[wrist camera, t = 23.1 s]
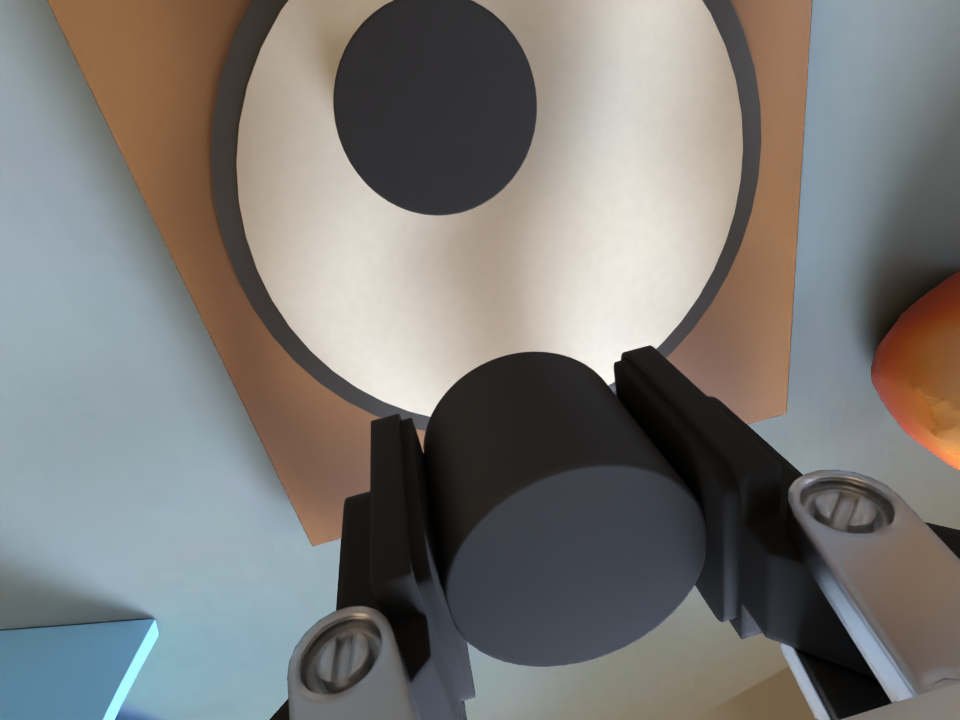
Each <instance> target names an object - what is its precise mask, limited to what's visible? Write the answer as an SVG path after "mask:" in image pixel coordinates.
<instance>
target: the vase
mask: <svg viewBox="0 0 960 720" xmlns="http://www.w3.org/2000/svg"><path fill="white" fill-rule="evenodd" d="M158 635H159V632H158V628H157V624H156V620H155V619H146V620H133V621H120V622H107V623H95V624H82V625H69V626H56V627H43V628H30V629H17V630H5V631H0V720H115V717H116V715H117V713H118V711H119V709H120V707H121V705H122V703H123V701H124V699H125V697H126V695H127V693H128V691H129V689H130V688H131V686H132V684H133V682H134V680H135V678H136V676H137V674H138V672H139V670H140V669H141V667H142V665H143V663H144V661H145V659H146V658H147V656H148V654H149V652H150V650H151V648H152V646H153V645H154V643H155V641H156V639H157V637H158Z"/></svg>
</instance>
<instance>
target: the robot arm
mask: <svg viewBox="0 0 960 720" xmlns="http://www.w3.org/2000/svg"><path fill="white" fill-rule="evenodd" d="M614 377H615V386H616V396H617V398H618V399H619V400H620V401H621V403H622V404H623V405H624V406H625V408H626V409H627V410H628V411H629V413H630V414H631V415H632V416H633V418H634V419H635V420H636V422H637V423H638V424H639V425H640V427H641V428H642V429H643V430H644V432H645V433H646V434H647V435H648V437H649V438H650V439H651V440H652V442H653V443H654V444H655V445H656V447H657V448H658V449H659V451H660V452H661V453H662V454H663V456H664V457H665V458H666V459H667V461H668V462H669V463H670V464H671V466H672V467H673V468H674V469H675V471H676V472H677V473H678V474H679V476H680V477H681V478H682V480H683V481H684V482H685V483H686V485H687V486H688V487H689V488H690V490H691V491H692V492H693V493H694V495H695V496H696V497H697V499H698V501H699V503H700V505H701V507H702V509H703V512H704V516H705V520H706V558H705V562H704V565H703V568H702V570H701V573H700V575H699V577H698V579H697V581H696V583H695V586H696V587H697V589H698V590H699V592H700V593H701V595H702V597H703V598H704V600H705V601H706V603H707V604H708V606H709V607H710V609H711V610H712V612H713V614H714V615H715V616H716V618H717V619H718V620H719V621H721V622H724V621H728V620H729V621H730V623H731V624H732V626H733V627H734V629H735V630H736V632H737V633H738V635H739V636H740V638H741V639H744V638H747V637H751V636H754V635H757V634H760V633H763V634H764V635H765V637H767V638H769V639H772V640H775V641H777V642H779V643H780V646H781V649H782V652H783V654H784V656H785V658H786V660H787V662H788V664H789V666H790V668H791V670H792V672H793V674H794V676H795V679H796V681H797V683H798V685H799V687H800V689H801V691H802V693H803V695H804V696H805V699H806V701H807V703H808V705H809V707H810V709H811V711H812V713H813V715H814V717H815V719H816V720H960V530H956V529H952V528H948V527H943V526H939V525H935V524H930V523H926V522H924V521H923V520H922V519H921V518H920V517H919V516H918V515H917V514H916V513H915V512H914V510H913V509H912V508H911V507H910V506H909V505H908V504H907V503H906V502H905V501H904V500H903V499H902V498H901V497H900V496H899V495H898V494H897V493H896V492H894V491H893V490H892V489H891V488H889V487H888V486H887V485H885V484H883V483H881V482H879V481H877V480H875V479H873V478H871V477H868V476H865V475H861V474H858V473H855V472H849V471H841V470H819V471H815V472H811V473H807V474H804V475H802V474H801V473H800V472H799V471H798V470H797V469H796V468H795V467H794V466H792V465H791V464H790V463H789V462H788V461H787V460H786V459H785V458H784V457H782V456H781V455H780V454H779V453H778V452H777V451H776V450H775V449H774V448H772V447H771V446H770V445H769V444H768V443H767V442H766V441H765V440H764V439H762V438H761V437H760V436H759V435H758V434H757V433H756V432H755V431H754V430H752V429H751V428H750V427H749V426H748V425H747V424H746V423H745V422H744V421H742V420H741V419H740V418H739V417H738V416H737V415H736V414H735V413H734V412H732V411H731V410H730V409H729V408H728V407H727V406H726V405H725V404H724V403H722V402H721V401H720V400H719V399H717V398H716V397H712V396H709V397H707V396H706V395H705V394H704V393H703V392H702V391H701V390H700V389H699V388H698V387H697V386H695V385H694V384H693V383H692V382H691V381H690V380H689V379H688V378H687V377H686V376H685V375H684V374H682V373H681V372H680V371H679V370H678V369H677V368H676V367H675V366H674V365H673V364H672V363H671V362H669V361H668V360H667V359H666V358H665V357H664V356H663V355H662V354H661V353H660V352H659V351H658V350H656V349H655V348H654V347H653V346H651V345H648V346H645V347H641V348H637V349H634V350H630V351H626V352H623V353H622V355H621V361H617V362H615V363H614ZM287 681H288V700H287V701H286V702H285V703H284V704H283V705H282V706H281V707H280V709H279V710H278V711H277V712H276V713H275V714H274V715H273V716H272V718H271V719H270V720H467V718H466V711H465V704H464V701H465V700H468V699H472V698H475V689H474V683H473V677H472V671H471V665H470V659H469V653H468V647H467V642H466V640H465V639H464V638H463V637H462V636H461V634H460V633H459V632H458V630H457V629H456V627H455V625H454V622H453V619H452V617H451V614H450V611H449V608H448V605H447V602H446V599H445V596H444V592H443V588H442V581H441V574H440V566H439V559H438V552H437V545H436V538H435V530H434V523H433V516H432V509H431V501H430V494H429V487H428V480H427V473H426V465H425V458H424V453H423V450H422V447H421V444H420V441H419V438H418V434H417V431H416V428H415V425H414V422H413V419H412V418H408V419H404V420H402V418H401V416H400V414H399V413H398V414H394V415H391V416H387V417H383V418H380V419H376V420H372V421H371V457H370V491H368V492H365V493H361V494H358V495H354V496H351V497H347V498H346V499H345V501H344V508H343V522H342V536H341V550H340V564H339V578H338V592H337V606H336V611H334V612H333V613H331V614H329V615H327V616H326V617H324V618H322V619H321V620H319V621H318V622H317V623H316V624H315V625H313V626H312V627H311V628H310V629H309V630H308V631H307V632H306V633H305V634H304V636H303V637H302V638H301V640H300V641H299V643H298V644H297V645H296V647H295V649H294V652H293V654H292V656H291V659H290V661H289V667H288V676H287Z"/></svg>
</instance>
